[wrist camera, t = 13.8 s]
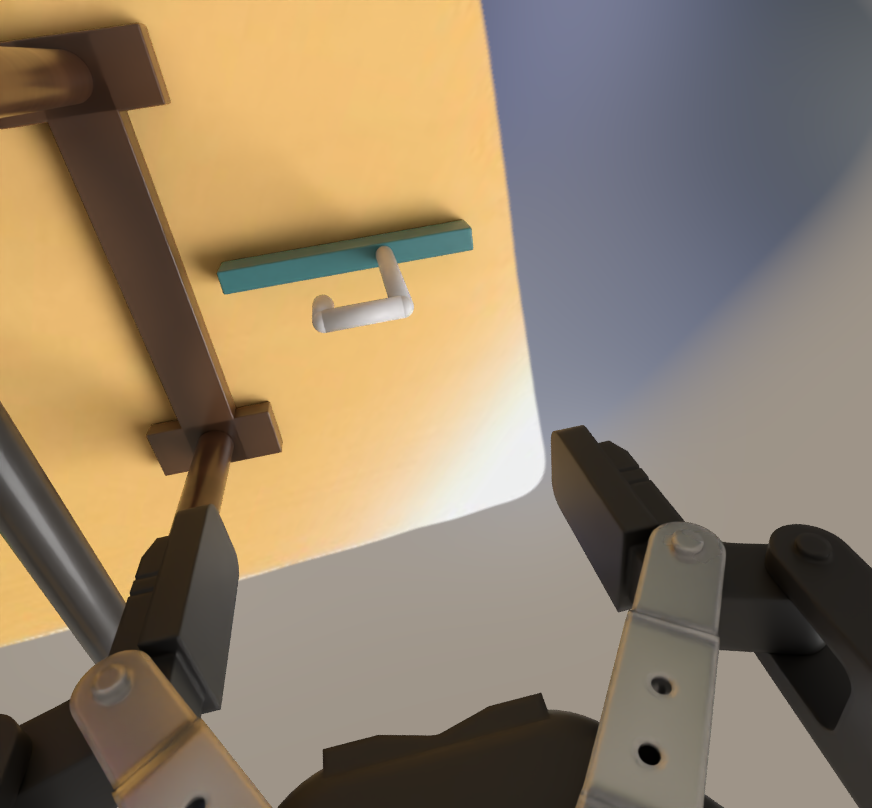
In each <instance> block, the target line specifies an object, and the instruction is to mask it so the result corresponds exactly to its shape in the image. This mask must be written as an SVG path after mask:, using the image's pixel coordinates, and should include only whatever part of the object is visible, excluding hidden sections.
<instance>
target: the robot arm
mask: <svg viewBox="0 0 872 808" xmlns="http://www.w3.org/2000/svg"><path fill="white" fill-rule="evenodd" d="M551 465H552V486H553V491H554V495H555V498H556V501H557V504H558V505H559V508H560V509H561V511H562V513H563V515H564V517H565V518H566V520H567V522H568V524H569V525H570V527H571V529H572V531H573V532H574V534H575V536H576V538H577V540H578V542H579V543H580V545H581V547H582V548H583V550H584V552H585V554H586V555H587V558H588V559H589V561H590V563H591V565H592V566H593V568H594V570H595V572H596V574H597V575H598V577H599V579H600V580H601V583H602V584H603V586H604V588H605V590H606V591H607V593H608V595H609V597H610V599H611V600H612V602H613V604H614V606H615V607H616V609H617V611H618V612H621V611H625V610H629V611H628V613H627V617H626V620H625V624H624V628H623V632H622V636H621V640H620V644H619V648H618V652H617V656H616V660H615V663H614V667H613V671H612V676H611V680H610V683H609V687H608V691H607V695H606V699H605V703H604V707H603V711H602V715H601V719H600V722H598V721H596V720H593V719H591V718H588V717H586V716H583V715H580V714H576V713H572V712H567V711H560V710H547V708H546V705H545V702H544V699H543V696H542V694H541V693H539V694H534V695H530V696H527V697H523V698H519V699H515V700H511V701H507V702H504V703H500V704H496V705H492V706H489V707H487V708H485V709H483V710H482V711H480V712H478V713H476V714H475V715H473V716H471V717H469V718H467V719H466V720H464V721H462V722H460V723H458V724H457V725H455V726H453V727H451V728H450V729H448V730H446V731H444V732H442V733H440V734H438V735H432V736H422V735H421V736H419V735H376V736H373V737H369V738H365V739H361V740H357V741H353V742H349V743H346V744H342V745H338V746H334V747H330V748H326V749H323V769H322V770H320V771H318V772H317V773H315V774H314V775H312V776H311V777H309V778H308V779H307V780H305V781H304V782H303V783H301V784H300V785H299V786H298V787H297V788H296V789H295V790H294V791H292V792H291V793H290V794H289V795H288V796H287V798H286V799H285V800H284V801H283V802H282V803H281V804H280V805H279V806H278V808H724V807H722V806H721V805H719V804H718V803H716V802H715V801H714V800H712V799H711V798H709V797H708V796H707V795H705V785H706V775H707V765H708V754H709V745H710V733H711V725H712V714H713V704H714V694H715V684H716V674H717V664H718V654H719V650H729V651H745V652H754V653H755V654H756V656H757V657H758V659H759V660H760V662H761V663H762V665H763V666H764V668H765V669H766V671H767V672H768V674H769V675H770V677H771V678H772V680H773V681H774V683H775V684H776V686H777V687H778V688H779V690H780V691H781V693H782V694H783V696H784V697H785V699H786V700H787V702H788V703H789V705H790V706H791V708H792V709H793V711H794V712H795V714H796V715H797V717H798V718H799V720H800V721H801V722H802V724H803V725H804V727H805V728H806V730H807V731H808V733H809V734H810V736H811V737H812V739H813V740H814V742H815V743H816V745H817V746H818V748H819V749H820V750H821V752H822V753H823V755H824V757H825V758H826V759H827V761H828V762H829V764H830V765H831V767H832V768H833V770H834V771H835V773H836V774H837V776H838V777H839V779H840V780H841V782H842V783H843V785H844V786H845V788H846V789H847V791H848V792H849V793H850V795H851V796H852V798H853V799H854V801H855V802H856V804H857V805H858V807H859V808H872V568H871V567H870V566H869V565H868V564H867V563H866V562H865V561H864V560H863V559H861V558H860V557H859V555H858V554H856V553H855V552H854V551H853V550H852V549H851V548H850V547H849V546H848V545H847V544H846V543H845V542H844V541H843V540H842V539H840V538H839V537H837V536H836V535H834V534H832V533H830V532H828V531H826V530H823V529H821V528H818V527H814V526H810V525H802V524H792V525H786V526H782V527H780V528H778V529H776V530H775V531H774V532H773V533H772V535H771V537H770V540H769V544H743V543H741V544H740V543H726V542H722V541H721V540H720V539H719V538H718V537H717V536H716V535H715V534H714V533H713V532H711V531H710V530H708V529H706V528H704V527H702V526H700V525H697V524H693V523H689V522H685V521H684V520H683V519H682V518H681V516H680V515H679V514H678V513H677V511H676V510H675V509H674V508H673V506H672V505H671V504H670V503H669V502H668V500H667V499H666V498H665V497H664V495H662V493H661V492H660V491H659V489H658V488H657V487H656V486H655V484H654V483H653V482H652V481H651V480H649V478H648V476H647V475H646V473H645V472H644V471H643V470H642V469H641V468H639V465H638V464H637V462H636V461H635V460H634V459H633V457H632V456H631V455H630V454H629V453H628V451H626V450H624V449H623V448H621V447H619V446H617V445H616V444H614V443H612V442H611V441H605V442H601V443H598V442H597V441H596V440H595V438H594V437H593V436H592V434H591V433H590V432H589V431H588V429H587V428H586V427H585V426H584V425H580V426H576V427H571V428H567V429H562V430H557V431H553V432H552V435H551ZM135 578H136V580H135V581H134V582H133V585H132V588H131V590H130V597H128V599H127V602H126V605H125V608H124V611H123V614H122V617H121V620H120V623H119V626H118V629H117V632H116V635H115V638H114V641H113V644H112V647H111V650H110V653H109V655H108V657H106V658H104V659H103V660H101V661H100V662H98V663H97V664H96V665H94V666H93V667H92V668H91V669H90V670H89V671H88V672H87V673H86V674H85V675H84V676H83V677H82V678H81V679H80V681H79V682H78V684H77V685H76V687H75V689H74V691H73V693H72V696H71V698H70V700H68V701H66V702H64V703H62V704H61V705H59V706H57V707H55V708H53V709H51V710H49V711H47V712H45V713H43V714H41V715H39V716H37V717H35V718H33V719H31V720H29V721H27V722H25V723H23V724H21V725H18V724H17V722H16V721H15V720H14V719H12V718H11V717H10V716H8V715H4V714H0V808H117V807H118V808H272V806H271V805H270V804H269V803H268V802H267V800H266V799H265V798H264V796H263V795H262V794H261V793H260V791H259V790H258V789H257V788H256V786H255V785H254V784H253V783H252V781H251V780H250V779H249V778H248V776H247V775H246V774H245V773H244V771H243V770H242V769H241V767H240V766H239V765H238V764H237V762H236V761H235V760H234V759H233V757H232V756H231V755H230V754H229V753H228V751H227V750H226V748H225V747H224V746H223V745H222V743H221V742H220V741H219V740H218V738H217V737H216V736H215V735H214V733H213V732H212V731H211V730H210V728H209V727H208V726H207V724H205V722H204V721H203V720H202V719H201V714H204V713H208V712H212V711H216V710H220V709H221V703H222V696H223V689H224V680H225V674H226V667H227V660H228V652H229V645H230V638H231V630H232V623H233V616H234V609H235V601H236V594H237V586H238V579H239V566H238V560H237V555H236V552H235V549H234V547H233V545H232V542H231V540H230V538H229V535H228V533H227V531H226V529H225V526H224V524H223V522H222V519H221V517H220V515H219V512H218V510H217V508H216V507H215V505H213V504H208V505H203V506H198V507H194V508H189V509H184V510H180V511H178V512H177V513H176V515H175V518H174V521H173V525H172V528H171V531H170V535H169V536H165V537H161V538H157V539H156V540H155V541H154V543H153V544H152V545H151V546H150V548H149V549H148V550H147V551H146V553H145V554H144V555H143V556H142V558H141V561H140V564H139V567H138V570H137V573H136V576H135ZM630 609H632V610H630Z"/></svg>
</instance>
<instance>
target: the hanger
mask: <svg viewBox="0 0 872 808" xmlns="http://www.w3.org/2000/svg"><path fill="white" fill-rule="evenodd" d="M469 250H473V239H472V229H471V227H470V226H469V225H468V224H467V223H466V222H465V221H464V220H459V221H453V222H448V223H442V224H436V225H431V226H425V227H419V228H413V229H408V230H402V231H396V232H391V233H385V234H379V235H374V236H368V237H362V238H357V239H351V240H345V241H339V242H334V243H328V244H322V245H317V246H311V247H305V248H300V249H294V250H288V251H282V252H277V253H271V254H265V255H260V256H254V257H248V258H243V259H237V260H231V261H226V262H222V263H221V265H220V267H219V269H218V271H217V276H218V279H219V282H220V284H221V287H222V290H223V293H224V294H231V293H237V292H242V291H248V290H253V289H259V288H264V287H270V286H275V285H281V284H286V283H292V282H298V281H303V280H309V279H314V278H320V277H325V276H331V275H336V274H342V273H347V272H353V271H359V270H364V269H370V268H375V267H379V269H380V272H381V276H382V279H383V282H384V286H385V289H386V292H387V295H388V298H385V299H379V300H374V301H369V302H363V303H358V304H352V305H347V306H342V307H336V308H334V303H333V300H332V299H331V298H330V297H329V296H326V295H320V296H317V297H316V298H315V299H314V301H313V306H312V323H313V326H314V328H315V329H316V330H317V331H319V332H321V333H327V332H333V331H338V330H343V329H348V328H354V327H359V326H364V325H370V324H375V323H380V322H385V321H391V320H396V319H401V318H406V317H408V316H410V315H411V314H412V312H413V309H414V305H413V301H412V299H411V296H410V294H409V291H408V289H407V286H406V284H405V281H404V279H403V276H402V274H401V271H400V269H399V266H398V264H397V263H403V262H408V261H414V260H419V259H425V258H431V257H436V256H442V255H447V254H453V253H458V252H464V251H469Z"/></svg>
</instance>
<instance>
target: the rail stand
mask: <svg viewBox="0 0 872 808" xmlns="http://www.w3.org/2000/svg"><path fill="white" fill-rule="evenodd" d="M169 103H171V100H170V97H169V94H168V91H167V88H166V85H165V82H164V79H163V76H162V73H161V70H160V67H159V64H158V61H157V58H156V55H155V52H154V49H153V46H152V43H151V40H150V37H149V33H148V30H147V27H146V26H145V25H143V24H139V23H134V24H126V25H119V26H112V27H105V28H98V29H90V30H83V31H75V32H68V33H61V34H54V35H46V36H39V37H32V38H25V39H18V40H11V41H4V42H0V129H8V128H15V127H21V126H28V125H34V124H41V123H48V124H49V127H50V129H51V131H52V133H53V136H54V138H55V140H56V143H57V145H58V147H59V149H60V152H61V154H62V156H63V159H64V161H65V163H66V165H67V168H68V170H69V172H70V175H71V177H72V179H73V181H74V184H75V186H76V188H77V191H78V193H79V195H80V197H81V200H82V202H83V204H84V207H85V209H86V211H87V213H88V216H89V218H90V220H91V223H92V225H93V227H94V229H95V232H96V234H97V236H98V239H99V241H100V243H101V245H102V248H103V250H104V252H105V255H106V257H107V259H108V261H109V264H110V266H111V268H112V271H113V273H114V275H115V277H116V280H117V282H118V284H119V287H120V289H121V291H122V293H123V296H124V298H125V300H126V303H127V305H128V307H129V309H130V312H131V314H132V316H133V319H134V321H135V323H136V325H137V328H138V330H139V332H140V335H141V337H142V339H143V341H144V344H145V346H146V348H147V351H148V353H149V355H150V357H151V360H152V362H153V364H154V367H155V369H156V371H157V373H158V376H159V378H160V380H161V383H162V385H163V387H164V389H165V392H166V394H167V396H168V399H169V401H170V403H171V406H172V408H173V410H174V412H175V415H176V417H177V419H178V420H174V421H168V422H163V423H158V424H153V425H151V426H150V429H149V431H148V433H147V435H146V436H147V438H148V441H149V443H150V445H151V447H152V449H153V451H154V453H155V455H156V457H157V459H158V461H159V463H160V465H161V468H162V470H163V472H164V474H165V476H167V475H172V474H177V473H182V472H187V471H189V472H188V475H187V478H186V481H185V485H184V488H183V491H182V494H181V497H180V501H179V504H178V507H177V510H176V513H177V512H178V511H180V510H184V509H189V508H194V507H198V506H203V505H208V504H213V505H215V507H216V508H217V510H218V512H219V513H220V508H221V504H222V499H223V494H224V490H225V485H226V480H227V476H228V471H229V466H230V463H231V462H236V461H241V460H245V459H250V458H255V457H260V456H265V455H270V454H275V453H279V452H282V443H283V441H282V438H281V435H280V432H279V429H278V426H277V422H276V419H275V416H274V413H273V410H272V407H271V404H270V402H265V403H260V404H255V405H250V406H245V407H240V408H236V407H235V404H234V401H233V399H232V396H231V393H230V391H229V388H228V385H227V382H226V380H225V377H224V374H223V371H222V369H221V366H220V363H219V361H218V358H217V355H216V352H215V350H214V347H213V344H212V342H211V339H210V336H209V333H208V331H207V328H206V325H205V323H204V320H203V317H202V314H201V312H200V309H199V306H198V304H197V301H196V298H195V295H194V293H193V290H192V287H191V285H190V282H189V279H188V276H187V274H186V271H185V268H184V265H183V263H182V260H181V257H180V255H179V252H178V249H177V246H176V244H175V241H174V238H173V236H172V233H171V230H170V227H169V225H168V222H167V219H166V217H165V214H164V211H163V208H162V206H161V203H160V200H159V198H158V195H157V192H156V189H155V187H154V184H153V181H152V178H151V176H150V173H149V170H148V168H147V165H146V162H145V159H144V157H143V154H142V151H141V149H140V146H139V143H138V140H137V138H136V135H135V132H134V130H133V127H132V124H131V121H130V119H129V116H128V113H127V110H134V109H140V108H147V107H154V106H160V105H166V104H169ZM175 515H176V514H175ZM174 518H175V517H174ZM173 521H174V520H173ZM172 525H173V523H172ZM171 528H172V526H171ZM170 531H171V530H170ZM0 534H1V535H2V537H3V538H4V539H5V541H6V542H7V544H8V545H9V546H10V548H11V549H12V550H13V552H14V553H15V555H16V556H17V557H18V559H19V560H20V561H21V563H22V564H23V566H24V567H25V568H26V570H27V571H28V572H29V574H30V575H31V577H32V578H33V579H34V581H35V582H36V583H37V585H38V586H39V588H40V589H41V590H42V592H43V593H44V595H45V596H46V597H47V599H48V600H49V601H50V603H51V604H52V606H53V607H54V608H55V610H56V611H57V612H58V614H59V615H60V617H61V618H62V619H63V621H64V622H65V623H66V625H67V626H68V628H69V629H70V630H71V631H72V633H73V634H74V636H75V637H76V639H77V640H78V641H79V643H80V644H81V645H82V647H83V648H84V650H85V651H86V652H87V654H88V655H89V656H90V658H91V659H92V660H93V662H94V663H95V665H96V664H97V663H98V662H100V661H101V660H103V659H104V658H106V657H108V655H109V653H110V650H111V647H112V644H113V641H114V638H115V635H116V632H117V629H118V626H119V623H120V620H121V617H122V614H123V611H124V608H125V605H126V603H125V601H124V599H123V598H122V596H121V595H120V593H119V591H118V590H117V588H116V586H115V585H114V583H113V582H112V580H111V578H110V577H109V575H108V574H107V572H106V570H105V569H104V567H103V566H102V564H101V562H100V561H99V559H98V558H97V556H96V554H95V553H94V551H93V549H92V548H91V546H90V545H89V543H88V541H87V540H86V538H85V537H84V535H83V533H82V532H81V530H80V529H79V527H78V525H77V524H76V522H75V521H74V519H73V517H72V516H71V514H70V512H69V511H68V509H67V508H66V506H65V504H64V503H63V501H62V500H61V498H60V496H59V495H58V493H57V492H56V490H55V488H54V487H53V485H52V484H51V482H50V480H49V479H48V477H47V475H46V474H45V472H44V471H43V469H42V467H41V466H40V464H39V463H38V461H37V459H36V458H35V456H34V455H33V453H32V451H31V450H30V448H29V447H28V445H27V443H26V442H25V440H24V438H23V437H22V435H21V434H20V432H19V430H18V429H17V427H16V426H15V424H14V422H13V421H12V419H11V418H10V416H9V414H8V413H7V411H6V410H5V408H4V406H3V405H2V403H1V401H0ZM169 535H170V533H169Z"/></svg>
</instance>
